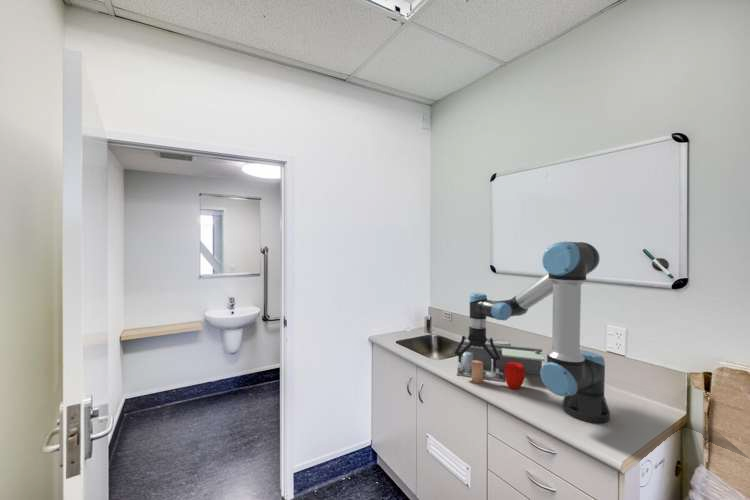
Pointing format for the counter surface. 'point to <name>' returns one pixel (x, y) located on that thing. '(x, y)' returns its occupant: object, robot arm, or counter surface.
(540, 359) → the lid
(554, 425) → the counter surface
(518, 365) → the apple
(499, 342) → the disposable coffee cup
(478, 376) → the peg
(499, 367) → the housing
